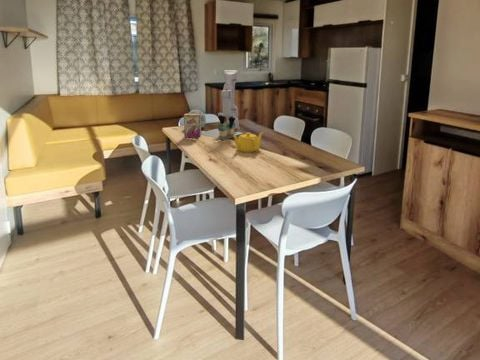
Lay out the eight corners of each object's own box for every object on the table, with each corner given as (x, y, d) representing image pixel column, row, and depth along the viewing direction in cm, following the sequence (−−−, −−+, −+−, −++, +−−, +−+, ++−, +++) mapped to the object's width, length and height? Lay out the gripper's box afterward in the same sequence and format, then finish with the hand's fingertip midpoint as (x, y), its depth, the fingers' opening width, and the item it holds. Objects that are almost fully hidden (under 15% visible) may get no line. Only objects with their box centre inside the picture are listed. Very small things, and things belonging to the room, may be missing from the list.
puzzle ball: (187, 131, 292) (186, 111, 287) (185, 127, 306) (184, 108, 301) (207, 130, 295) (206, 111, 290) (204, 126, 309) (204, 107, 304)
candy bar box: (184, 138, 272) (183, 114, 266) (186, 136, 276) (184, 113, 271) (200, 138, 271) (199, 115, 265) (201, 136, 275) (200, 113, 270)
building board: (216, 129, 298) (216, 123, 297) (243, 134, 283) (243, 127, 282) (194, 135, 280) (194, 128, 279) (222, 140, 265) (222, 133, 264)
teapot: (239, 155, 229) (239, 137, 226) (227, 149, 242) (227, 132, 239) (270, 151, 239) (271, 133, 235) (258, 145, 252) (258, 129, 248)
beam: (230, 127, 282) (230, 121, 281) (235, 128, 280) (235, 122, 279) (218, 130, 272) (218, 124, 271) (222, 131, 270) (222, 125, 268)
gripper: (215, 107, 272) (215, 126, 277) (231, 109, 264) (231, 129, 268) (221, 106, 278) (221, 125, 282) (237, 108, 269) (237, 127, 274)
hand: (226, 127), depth 276 cm, fingers open, 7 cm apart
